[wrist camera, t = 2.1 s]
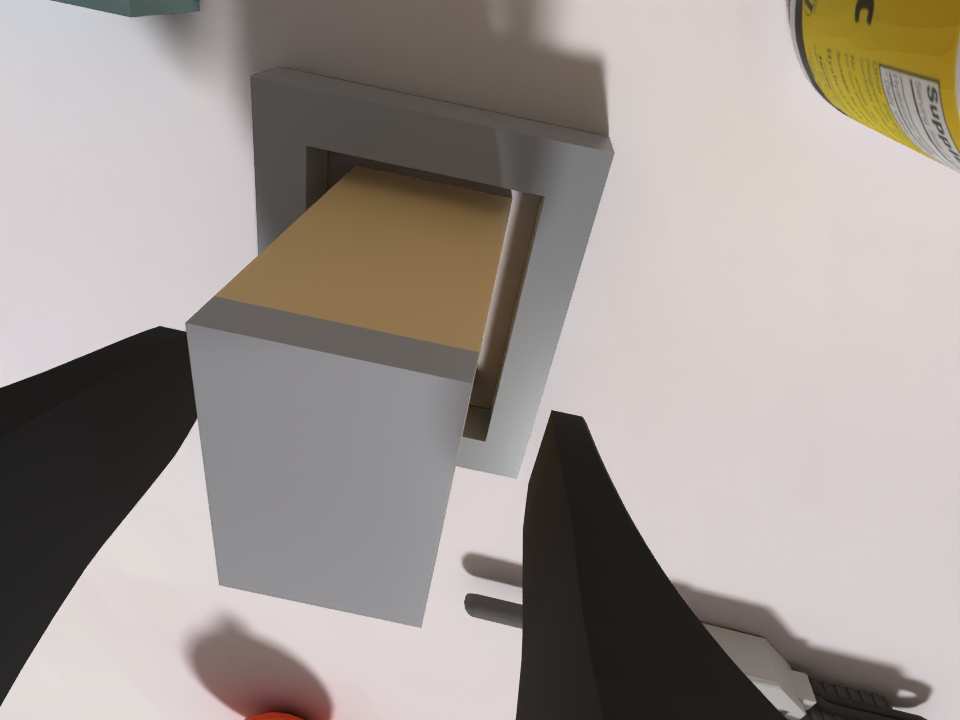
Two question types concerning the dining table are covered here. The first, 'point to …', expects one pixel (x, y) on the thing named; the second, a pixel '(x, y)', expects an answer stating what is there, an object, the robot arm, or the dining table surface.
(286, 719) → the clementine
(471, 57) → the dining table surface
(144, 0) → the parts tray
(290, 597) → the plug
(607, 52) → the dining table surface
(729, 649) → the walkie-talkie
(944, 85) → the supplement bottle
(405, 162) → the frame
